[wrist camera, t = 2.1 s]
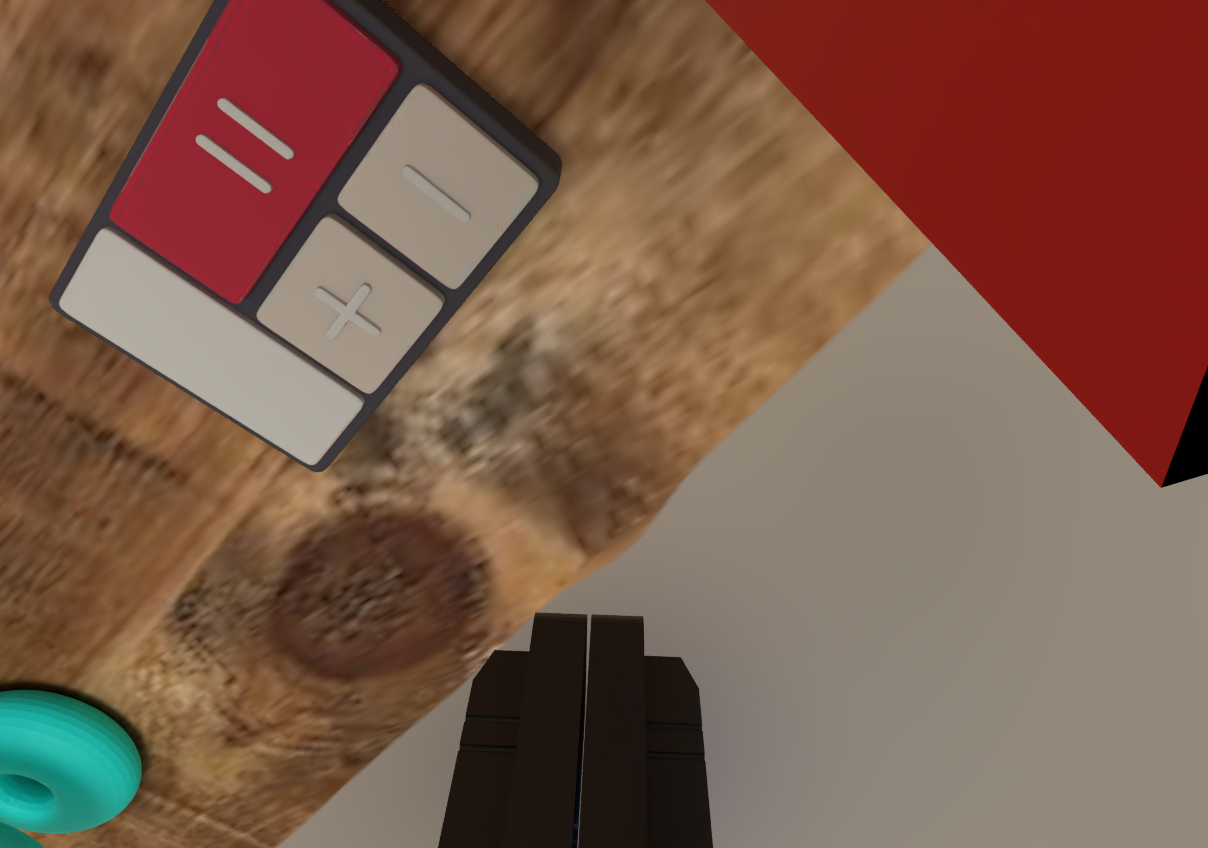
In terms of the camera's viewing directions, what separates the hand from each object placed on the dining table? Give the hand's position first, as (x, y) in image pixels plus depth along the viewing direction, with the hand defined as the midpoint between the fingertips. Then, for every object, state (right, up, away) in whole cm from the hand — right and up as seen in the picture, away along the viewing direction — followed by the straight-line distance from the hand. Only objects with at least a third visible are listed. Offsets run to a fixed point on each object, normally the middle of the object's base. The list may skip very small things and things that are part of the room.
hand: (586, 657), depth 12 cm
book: (+10, +28, +8) cm, 30 cm away
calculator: (-10, +11, +19) cm, 24 cm away
